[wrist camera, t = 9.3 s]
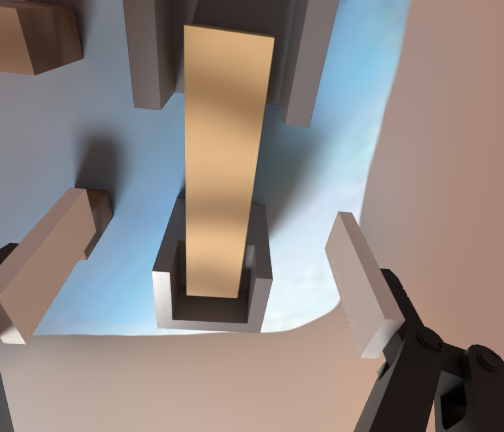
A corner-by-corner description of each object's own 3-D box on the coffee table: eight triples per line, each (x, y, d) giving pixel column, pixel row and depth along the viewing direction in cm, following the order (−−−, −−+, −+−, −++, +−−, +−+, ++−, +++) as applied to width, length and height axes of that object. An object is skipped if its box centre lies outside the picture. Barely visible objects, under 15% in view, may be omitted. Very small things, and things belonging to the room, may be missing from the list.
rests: (24, 0, 19) (-51, -1, 14) (73, 7, 19) (15, 8, 14) (81, 214, 29) (48, 257, 24) (112, 217, 29) (86, 260, 24)
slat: (192, 22, 15) (183, 25, 13) (270, 33, 15) (274, 38, 13) (191, 271, 25) (186, 295, 23) (237, 274, 26) (237, 298, 24)
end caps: (169, -50, 18) (113, -91, 10) (306, -28, 18) (351, -50, 11) (178, 249, 32) (157, 328, 24) (255, 254, 32) (259, 333, 25)
